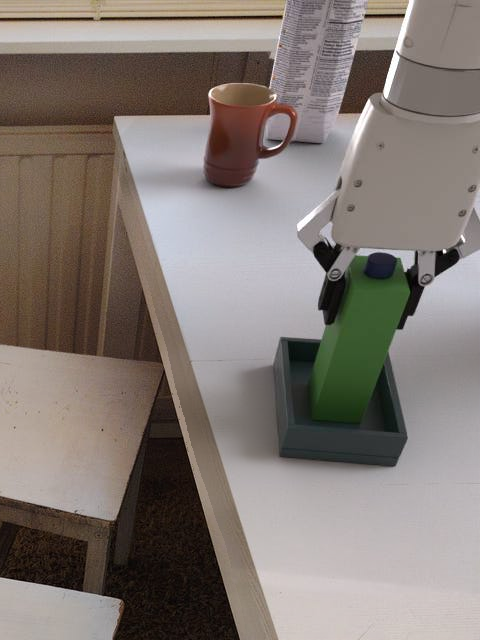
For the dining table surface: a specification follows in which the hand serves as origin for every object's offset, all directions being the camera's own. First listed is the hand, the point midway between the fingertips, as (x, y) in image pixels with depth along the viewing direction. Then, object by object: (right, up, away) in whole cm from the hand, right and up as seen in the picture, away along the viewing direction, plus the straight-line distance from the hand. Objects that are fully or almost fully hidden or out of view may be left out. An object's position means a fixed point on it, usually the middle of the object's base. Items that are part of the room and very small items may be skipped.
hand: (362, 317), depth 73 cm
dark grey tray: (0, -6, +8) cm, 10 cm away
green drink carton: (0, -6, +7) cm, 9 cm away
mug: (+1, +35, +42) cm, 55 cm away
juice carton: (+13, +48, +52) cm, 72 cm away
